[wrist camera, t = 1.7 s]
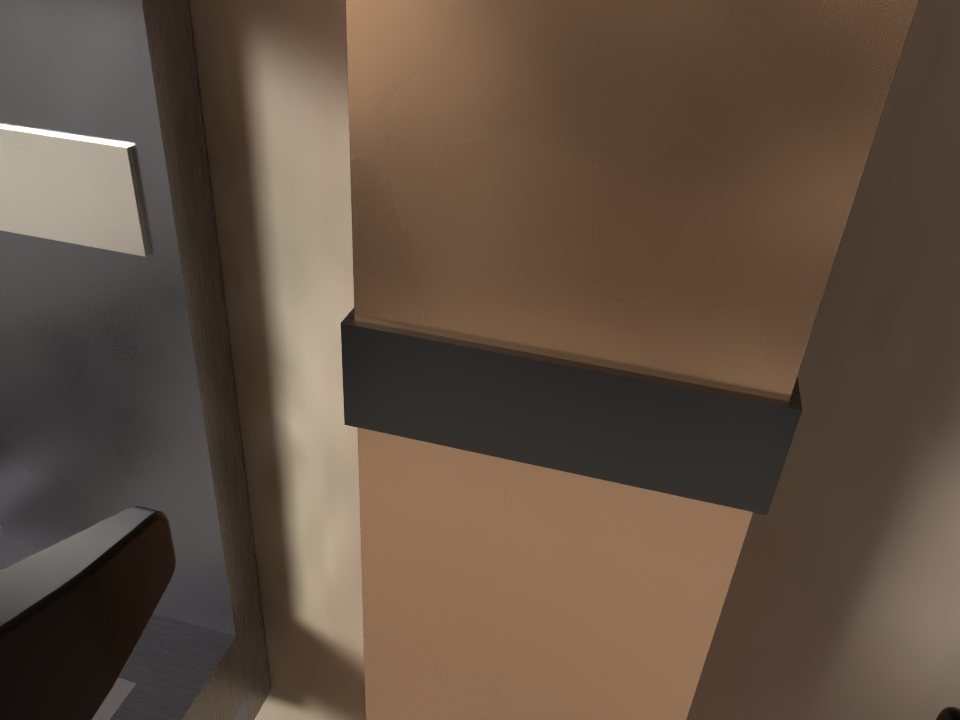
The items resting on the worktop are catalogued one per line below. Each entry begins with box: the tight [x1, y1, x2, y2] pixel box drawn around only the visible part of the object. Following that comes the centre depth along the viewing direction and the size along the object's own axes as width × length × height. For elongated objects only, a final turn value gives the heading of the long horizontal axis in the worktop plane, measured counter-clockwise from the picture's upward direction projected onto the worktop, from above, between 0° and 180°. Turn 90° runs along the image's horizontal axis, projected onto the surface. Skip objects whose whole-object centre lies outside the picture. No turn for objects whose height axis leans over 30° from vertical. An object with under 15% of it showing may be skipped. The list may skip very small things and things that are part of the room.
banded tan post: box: [341, 0, 918, 720], centre depth 11 cm, size 4×18×4 cm, turn 176°
